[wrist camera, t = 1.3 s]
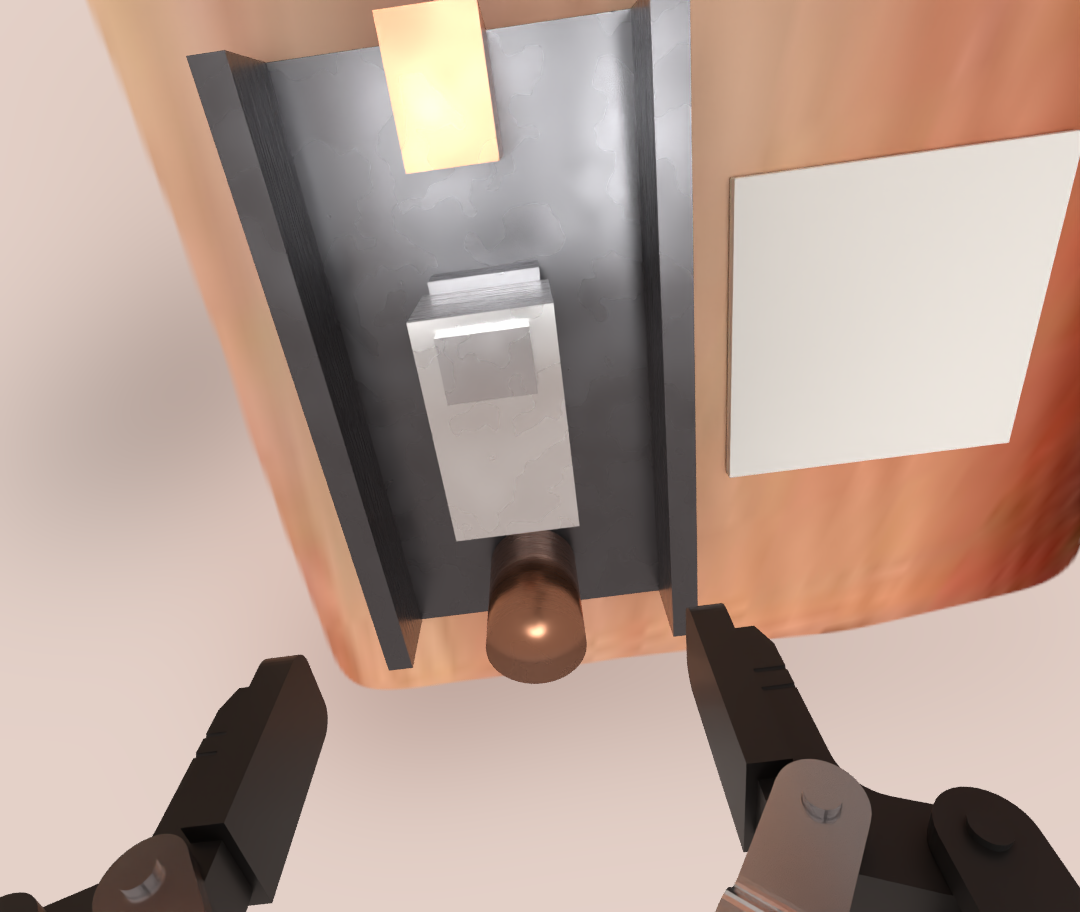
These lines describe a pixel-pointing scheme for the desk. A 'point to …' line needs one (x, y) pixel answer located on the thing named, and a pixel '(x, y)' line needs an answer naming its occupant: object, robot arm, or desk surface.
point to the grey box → (496, 408)
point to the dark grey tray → (478, 262)
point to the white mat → (888, 300)
